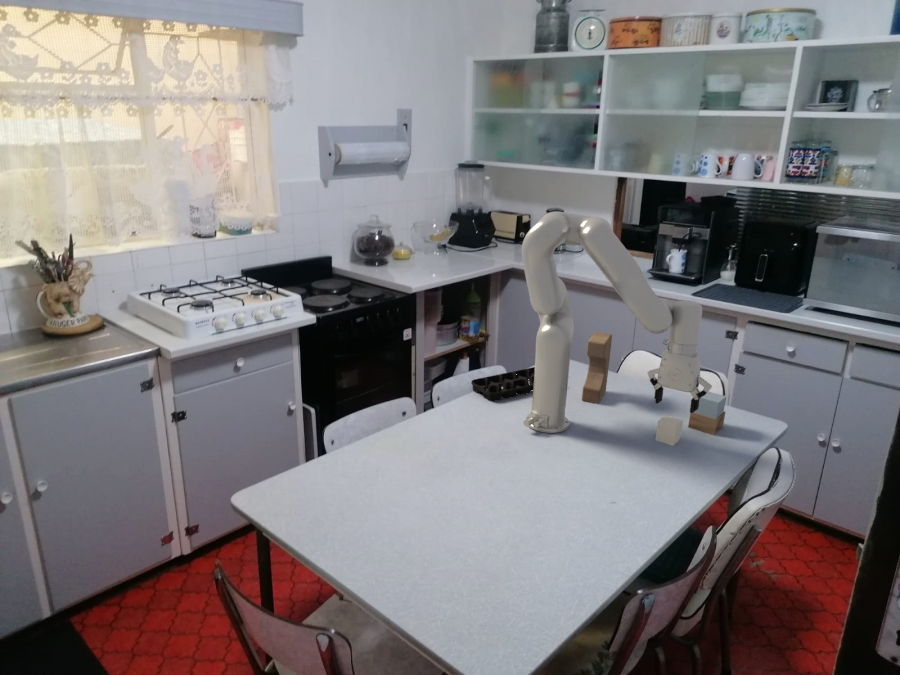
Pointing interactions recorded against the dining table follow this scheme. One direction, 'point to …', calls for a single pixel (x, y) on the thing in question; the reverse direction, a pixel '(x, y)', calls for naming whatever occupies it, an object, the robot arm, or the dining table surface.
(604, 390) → the decorative block
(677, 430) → the cream block
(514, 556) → the dining table surface
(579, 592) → the dining table surface
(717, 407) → the tower top
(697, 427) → the tower base
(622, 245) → the robot arm
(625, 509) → the dining table surface
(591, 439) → the dining table surface
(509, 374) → the egg carton
